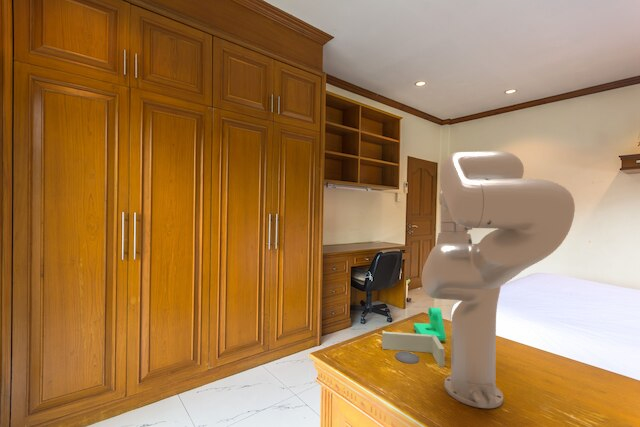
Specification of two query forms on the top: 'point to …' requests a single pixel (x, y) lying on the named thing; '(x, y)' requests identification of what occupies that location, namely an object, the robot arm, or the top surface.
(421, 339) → the corner walls
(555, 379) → the top surface
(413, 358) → the pad
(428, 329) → the camera mount
